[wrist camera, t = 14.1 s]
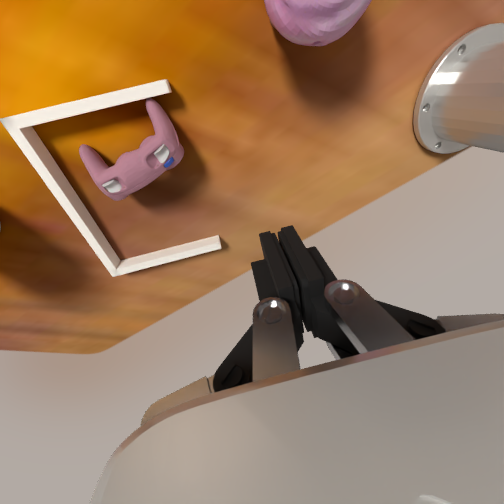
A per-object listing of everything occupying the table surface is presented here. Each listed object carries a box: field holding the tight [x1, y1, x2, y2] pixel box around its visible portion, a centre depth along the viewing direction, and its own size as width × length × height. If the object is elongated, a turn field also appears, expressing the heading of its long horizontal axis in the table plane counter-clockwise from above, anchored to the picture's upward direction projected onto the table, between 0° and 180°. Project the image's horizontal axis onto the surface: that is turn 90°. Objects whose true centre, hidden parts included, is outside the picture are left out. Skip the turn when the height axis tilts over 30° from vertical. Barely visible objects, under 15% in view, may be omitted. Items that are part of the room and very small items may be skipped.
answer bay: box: [0, 79, 221, 277], centre depth 28 cm, size 15×19×2 cm
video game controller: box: [79, 98, 184, 201], centre depth 24 cm, size 10×5×7 cm, turn 118°
